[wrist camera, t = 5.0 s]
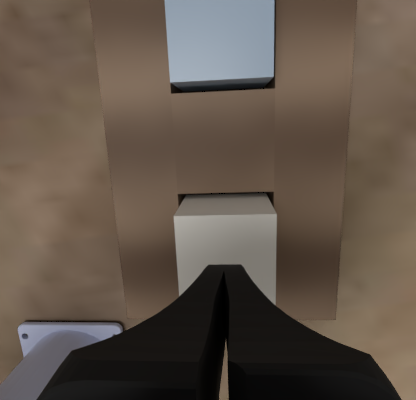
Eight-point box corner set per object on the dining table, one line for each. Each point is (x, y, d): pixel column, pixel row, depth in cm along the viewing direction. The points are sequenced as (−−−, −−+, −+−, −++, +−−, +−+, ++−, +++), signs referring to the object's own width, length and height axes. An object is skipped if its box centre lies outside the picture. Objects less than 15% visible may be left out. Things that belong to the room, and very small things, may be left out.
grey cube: (263, 87, 17) (273, 76, 13) (183, 91, 17) (170, 82, 13) (263, -4, 16) (274, -46, 12) (178, 2, 16) (162, -36, 12)
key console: (316, 283, 21) (335, 319, 17) (145, 284, 22) (127, 318, 18) (332, -56, 16) (364, -112, 12) (113, -37, 17) (79, -84, 13)
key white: (265, 266, 18) (275, 306, 14) (190, 267, 18) (179, 306, 14) (265, 193, 17) (276, 214, 13) (186, 194, 17) (173, 216, 13)
